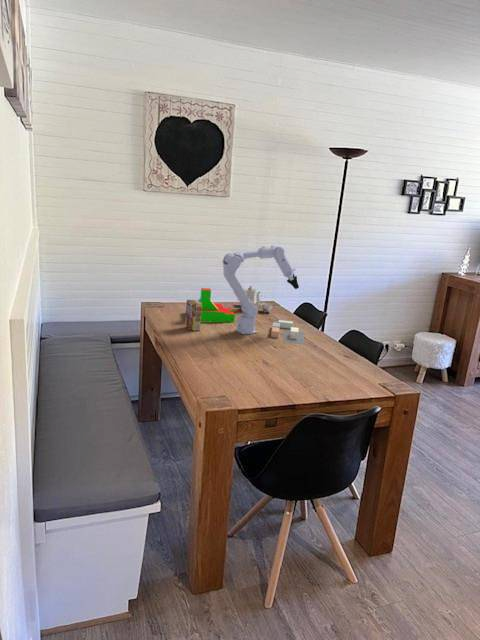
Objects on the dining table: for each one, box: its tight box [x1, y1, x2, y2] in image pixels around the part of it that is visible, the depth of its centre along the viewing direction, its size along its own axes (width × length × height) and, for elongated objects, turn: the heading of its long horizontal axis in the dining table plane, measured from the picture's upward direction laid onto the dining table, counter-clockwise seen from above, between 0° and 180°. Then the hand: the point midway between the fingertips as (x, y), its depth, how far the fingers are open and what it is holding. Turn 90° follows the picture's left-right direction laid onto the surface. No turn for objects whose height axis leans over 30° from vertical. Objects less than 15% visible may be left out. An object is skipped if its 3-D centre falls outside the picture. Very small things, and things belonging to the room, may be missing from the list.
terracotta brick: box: [270, 327, 281, 339], centre depth 252 cm, size 8×4×4 cm, turn 174°
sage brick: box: [278, 319, 294, 330], centre depth 269 cm, size 8×4×4 cm, turn 84°
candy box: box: [184, 298, 202, 332], centre depth 252 cm, size 9×4×15 cm, turn 39°
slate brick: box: [271, 321, 281, 331], centre depth 262 cm, size 8×4×4 cm, turn 174°
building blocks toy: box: [197, 287, 236, 323], centre depth 275 cm, size 19×25×18 cm
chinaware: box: [236, 285, 274, 313], centre depth 303 cm, size 28×17×17 cm, turn 58°
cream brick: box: [290, 326, 300, 339], centre depth 252 cm, size 8×4×4 cm, turn 174°
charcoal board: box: [282, 329, 306, 345], centre depth 253 cm, size 22×11×1 cm, turn 174°
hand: (295, 285), depth 260 cm, fingers open, 7 cm apart
